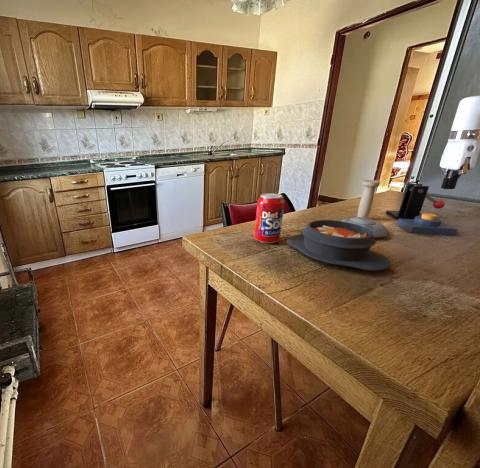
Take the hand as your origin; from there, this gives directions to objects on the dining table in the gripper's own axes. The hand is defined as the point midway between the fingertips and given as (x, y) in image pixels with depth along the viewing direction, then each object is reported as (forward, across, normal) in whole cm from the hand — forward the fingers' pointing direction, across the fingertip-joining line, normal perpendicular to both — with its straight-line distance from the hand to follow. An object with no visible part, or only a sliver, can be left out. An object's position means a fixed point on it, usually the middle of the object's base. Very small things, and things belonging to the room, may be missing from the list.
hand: (447, 188), depth 95 cm
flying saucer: (+11, -23, +34) cm, 42 cm away
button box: (+11, -15, +12) cm, 22 cm away
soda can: (+10, -37, +64) cm, 75 cm away
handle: (+11, -7, +28) cm, 31 cm away
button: (+8, -15, +11) cm, 20 cm away
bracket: (+11, 0, +10) cm, 15 cm away
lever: (+5, 0, +6) cm, 8 cm away
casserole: (+11, -45, +48) cm, 66 cm away
